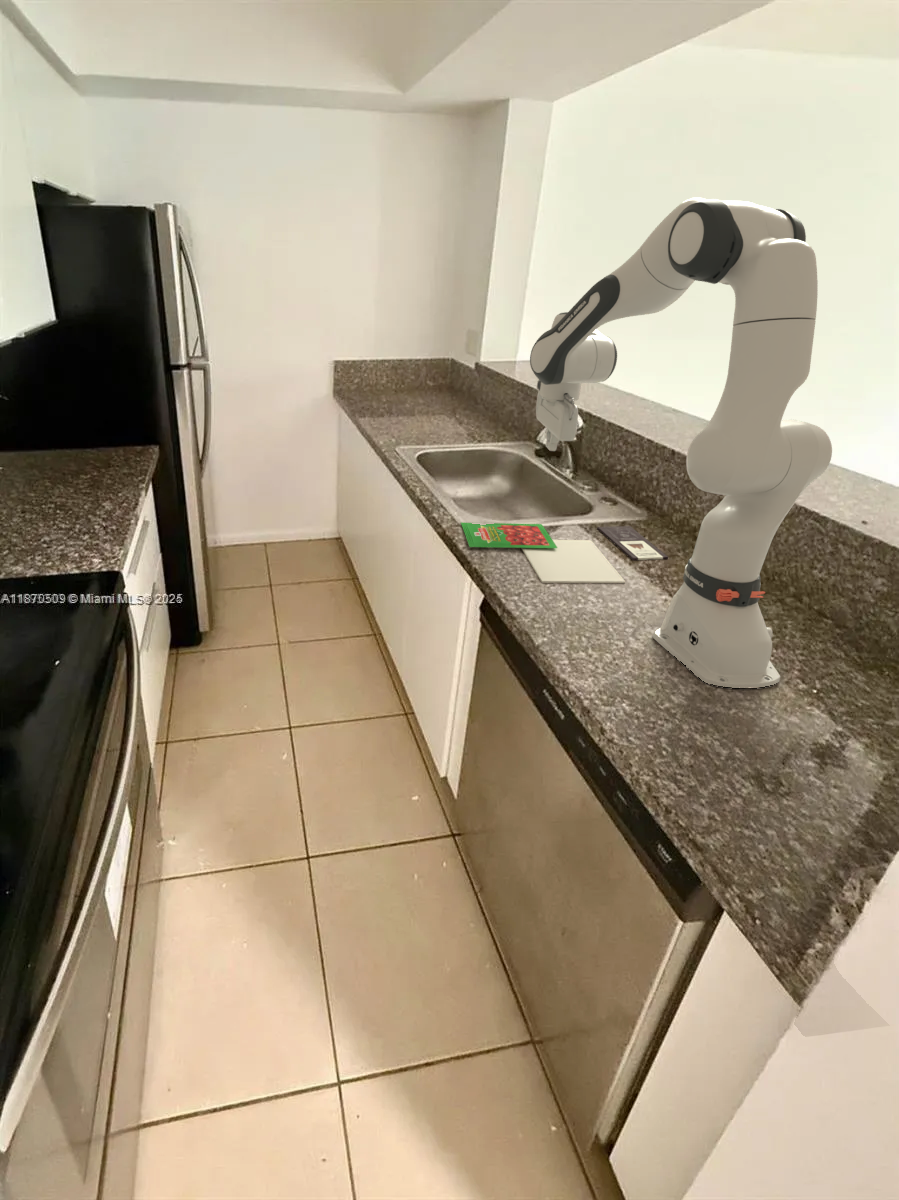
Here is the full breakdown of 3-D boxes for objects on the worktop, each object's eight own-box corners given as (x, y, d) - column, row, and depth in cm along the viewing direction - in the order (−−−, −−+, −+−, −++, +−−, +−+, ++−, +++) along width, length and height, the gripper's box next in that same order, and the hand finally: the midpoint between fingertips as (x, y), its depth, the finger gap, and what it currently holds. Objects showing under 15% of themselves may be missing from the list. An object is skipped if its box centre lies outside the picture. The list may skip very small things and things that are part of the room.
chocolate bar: (630, 526, 163) (668, 556, 148) (629, 529, 163) (667, 560, 148) (597, 526, 161) (633, 558, 146) (596, 530, 161) (632, 562, 146)
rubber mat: (624, 583, 135) (625, 581, 135) (541, 582, 132) (542, 581, 132) (590, 541, 153) (590, 540, 153) (516, 540, 150) (517, 539, 150)
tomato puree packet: (557, 545, 145) (469, 544, 143) (557, 550, 146) (469, 549, 143) (541, 522, 159) (460, 520, 156) (541, 526, 159) (460, 524, 157)
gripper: (589, 400, 139) (577, 463, 145) (560, 380, 156) (551, 437, 163) (561, 398, 138) (550, 462, 144) (535, 379, 155) (526, 436, 162)
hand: (550, 449), depth 154 cm, fingers closed
